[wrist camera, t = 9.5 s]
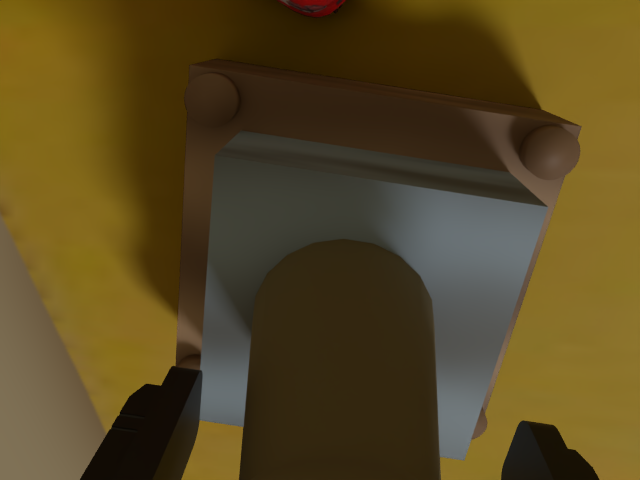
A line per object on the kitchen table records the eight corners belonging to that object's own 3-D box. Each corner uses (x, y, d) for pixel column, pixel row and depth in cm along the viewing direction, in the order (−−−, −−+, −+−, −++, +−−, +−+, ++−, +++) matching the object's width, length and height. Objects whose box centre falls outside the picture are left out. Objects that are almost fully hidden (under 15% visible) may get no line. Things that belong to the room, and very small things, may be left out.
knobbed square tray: (216, 58, 22) (148, 74, 15) (542, 110, 22) (640, 151, 15) (198, 337, 27) (142, 452, 20) (461, 377, 27) (502, 506, 20)
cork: (359, 423, 19) (372, 890, 9) (218, 337, 18) (43, 754, 8) (473, 307, 17) (664, 738, 7) (321, 201, 16) (272, 522, 6)
